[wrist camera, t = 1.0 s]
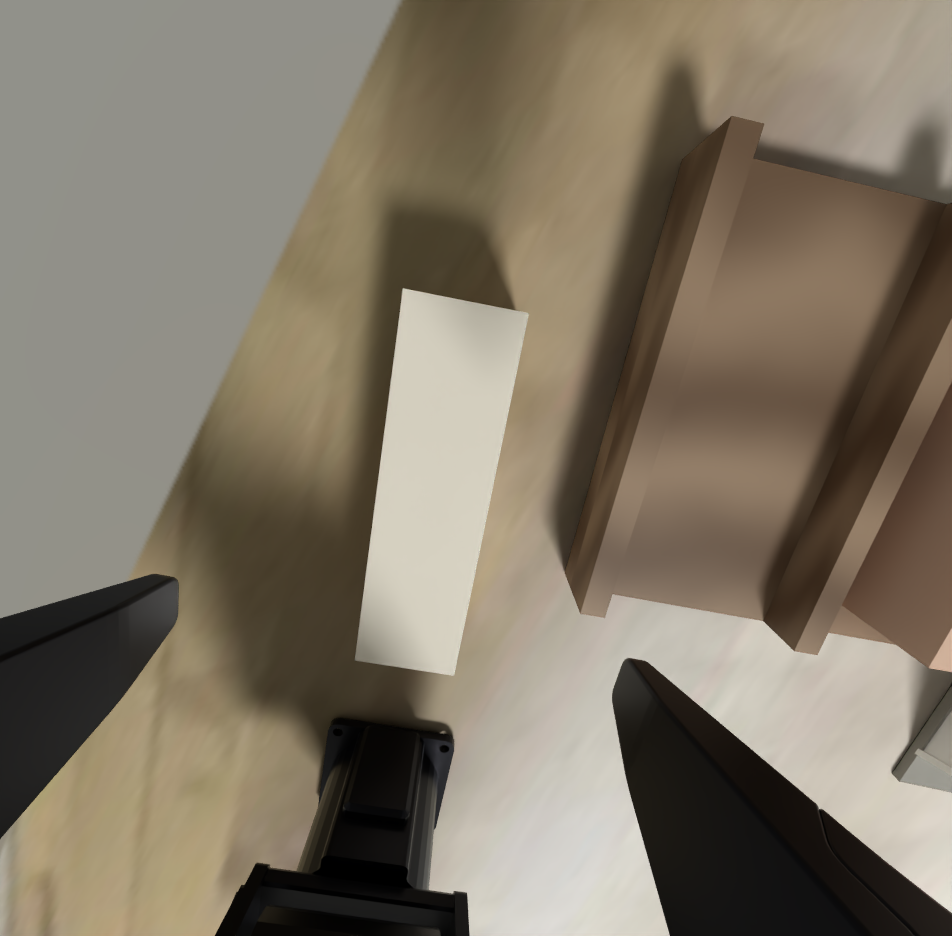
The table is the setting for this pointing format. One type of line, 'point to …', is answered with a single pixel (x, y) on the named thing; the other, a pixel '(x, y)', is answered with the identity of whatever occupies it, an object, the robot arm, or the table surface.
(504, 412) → the clay strip
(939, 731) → the skyscraper
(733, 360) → the drying rack
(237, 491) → the table surface
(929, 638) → the light brown wooden block
